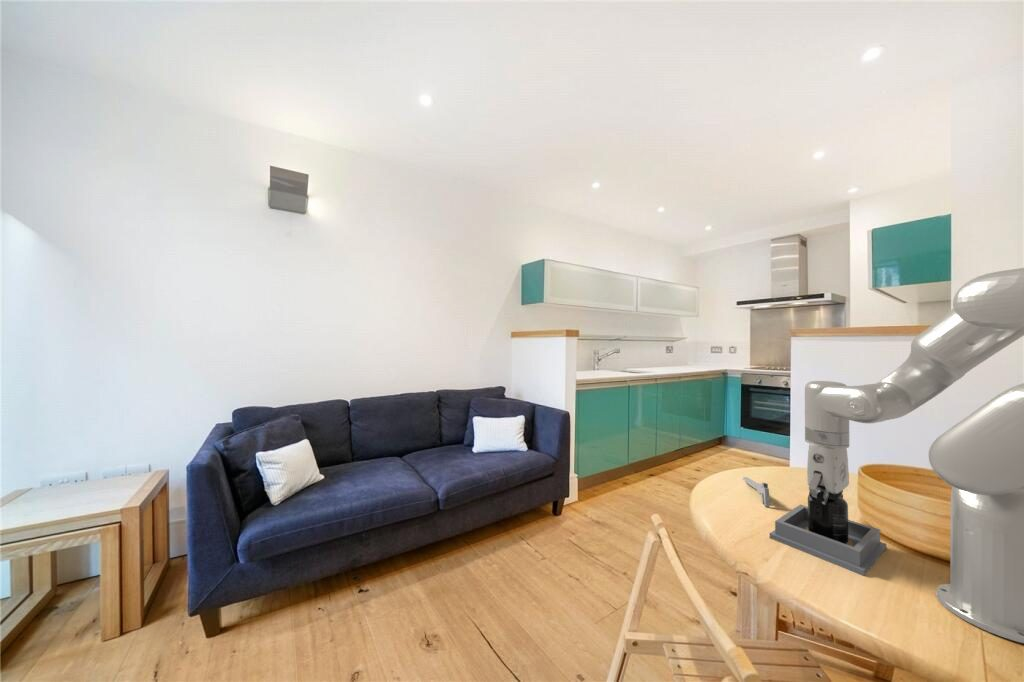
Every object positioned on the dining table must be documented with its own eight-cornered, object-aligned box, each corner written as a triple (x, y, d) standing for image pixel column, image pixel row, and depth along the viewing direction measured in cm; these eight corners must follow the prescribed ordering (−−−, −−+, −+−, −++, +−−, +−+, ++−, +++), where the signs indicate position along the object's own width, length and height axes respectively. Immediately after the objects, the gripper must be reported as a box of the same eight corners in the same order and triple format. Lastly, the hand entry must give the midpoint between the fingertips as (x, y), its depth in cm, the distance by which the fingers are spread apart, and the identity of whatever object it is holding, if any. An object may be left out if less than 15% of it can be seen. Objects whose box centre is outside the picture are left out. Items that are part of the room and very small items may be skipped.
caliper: (769, 508, 98) (769, 485, 98) (765, 508, 98) (765, 485, 98) (746, 479, 117) (746, 460, 117) (742, 479, 118) (742, 460, 118)
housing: (886, 548, 79) (886, 530, 79) (864, 575, 70) (864, 555, 70) (797, 517, 92) (797, 502, 92) (769, 537, 84) (769, 520, 84)
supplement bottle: (844, 534, 82) (844, 482, 82) (851, 550, 76) (852, 493, 76) (805, 526, 86) (805, 476, 86) (810, 540, 80) (810, 486, 80)
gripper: (834, 448, 73) (834, 534, 73) (861, 434, 82) (861, 510, 83) (790, 439, 79) (790, 518, 79) (819, 427, 89) (819, 498, 89)
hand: (826, 514), depth 81 cm, fingers open, 8 cm apart
